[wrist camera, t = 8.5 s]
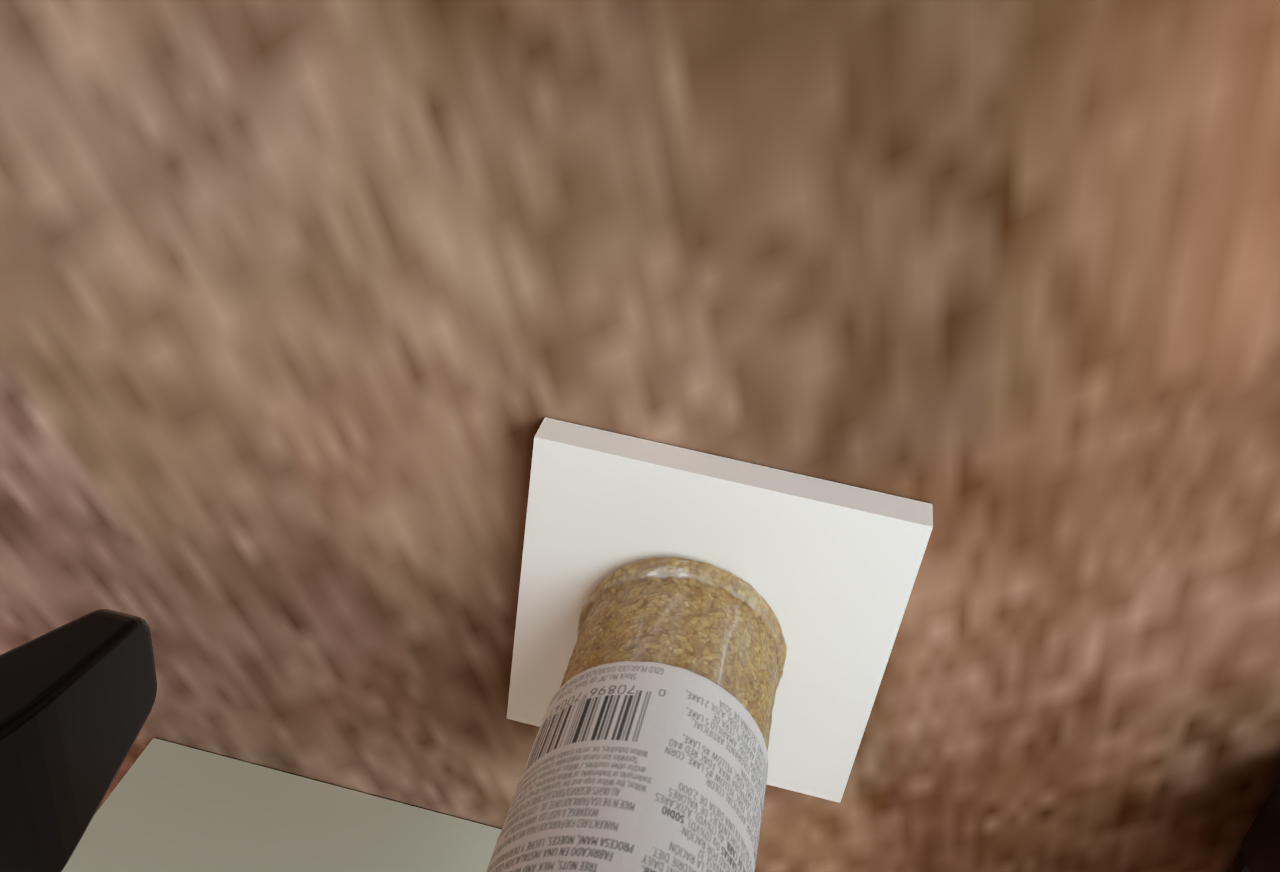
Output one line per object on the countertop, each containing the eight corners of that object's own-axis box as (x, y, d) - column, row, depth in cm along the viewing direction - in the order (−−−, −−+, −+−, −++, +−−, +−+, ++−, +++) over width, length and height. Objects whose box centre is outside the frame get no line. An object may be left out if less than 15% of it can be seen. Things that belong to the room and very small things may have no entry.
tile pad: (932, 503, 23) (932, 526, 22) (841, 776, 27) (840, 802, 27) (545, 417, 24) (534, 436, 23) (516, 695, 28) (506, 718, 27)
